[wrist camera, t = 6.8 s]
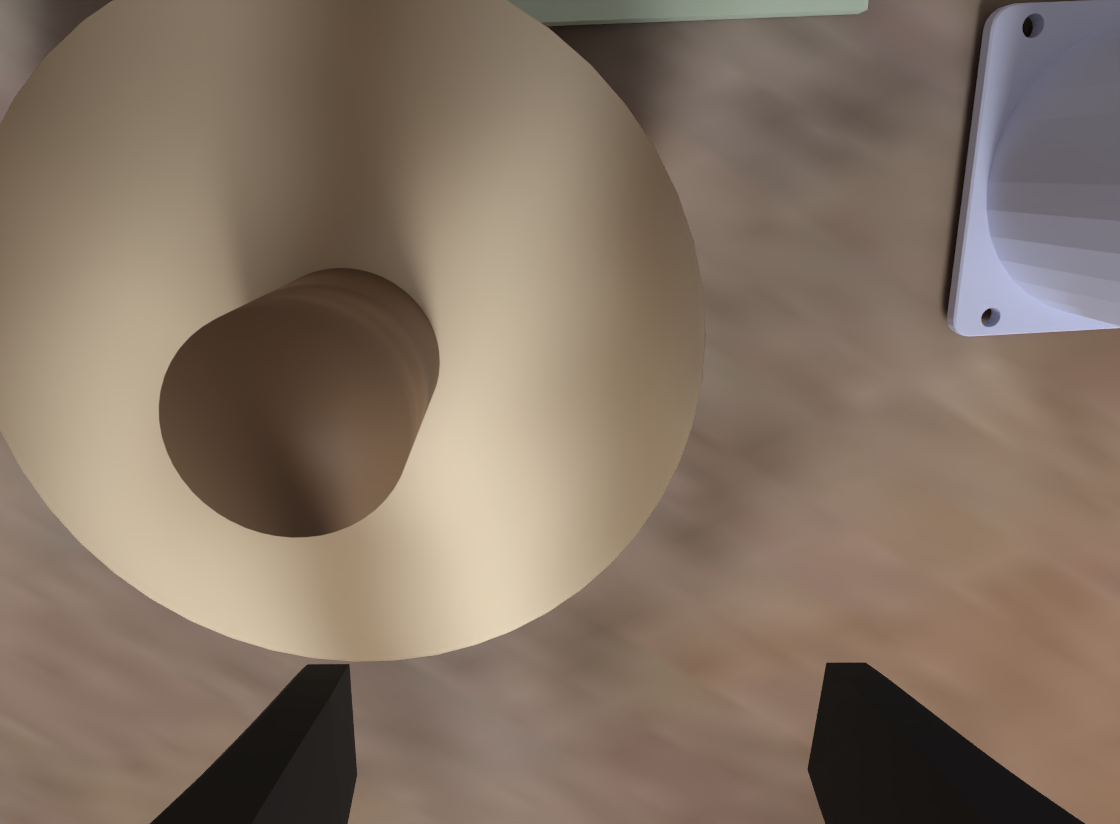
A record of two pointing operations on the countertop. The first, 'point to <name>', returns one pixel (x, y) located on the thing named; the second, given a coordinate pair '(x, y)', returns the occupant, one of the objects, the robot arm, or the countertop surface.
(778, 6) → the mat
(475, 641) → the lid
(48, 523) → the countertop surface
